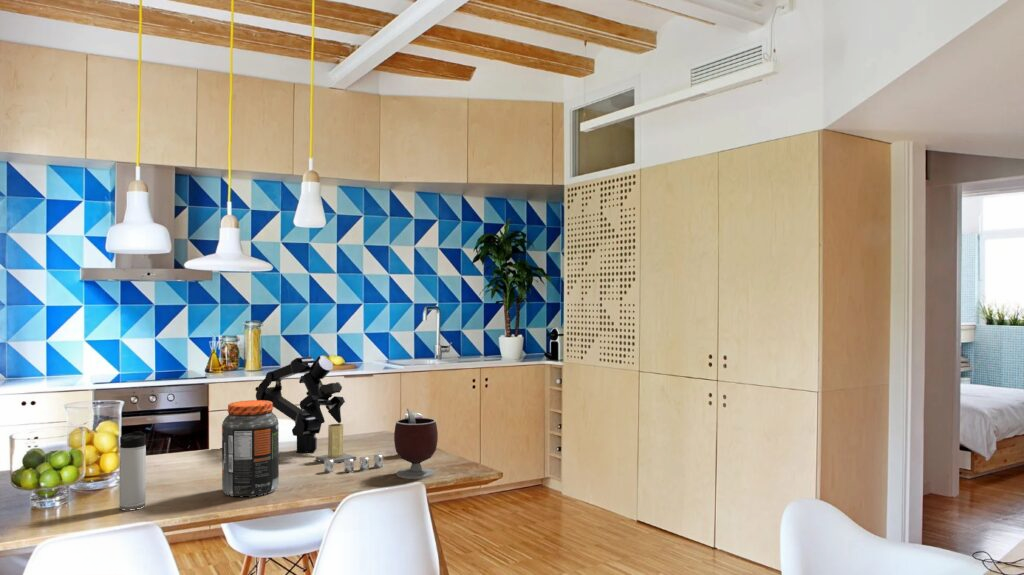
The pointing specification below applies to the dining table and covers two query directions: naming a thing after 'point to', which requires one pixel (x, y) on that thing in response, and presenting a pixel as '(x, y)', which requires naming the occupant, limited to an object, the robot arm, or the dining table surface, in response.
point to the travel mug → (132, 471)
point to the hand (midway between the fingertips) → (331, 422)
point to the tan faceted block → (335, 440)
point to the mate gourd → (415, 444)
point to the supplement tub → (250, 449)
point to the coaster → (336, 460)
